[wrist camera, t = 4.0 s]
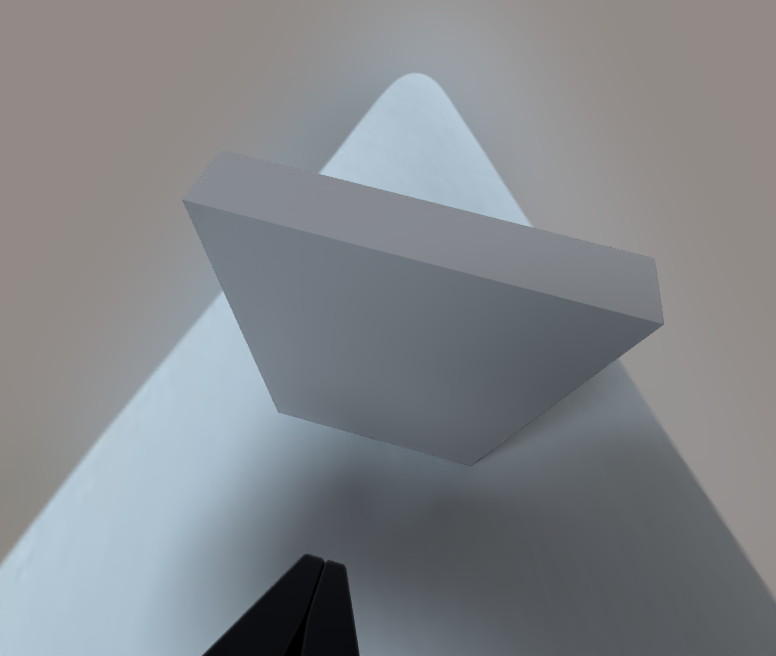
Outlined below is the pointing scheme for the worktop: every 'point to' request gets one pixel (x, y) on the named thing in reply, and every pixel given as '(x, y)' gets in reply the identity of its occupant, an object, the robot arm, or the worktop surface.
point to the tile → (412, 306)
